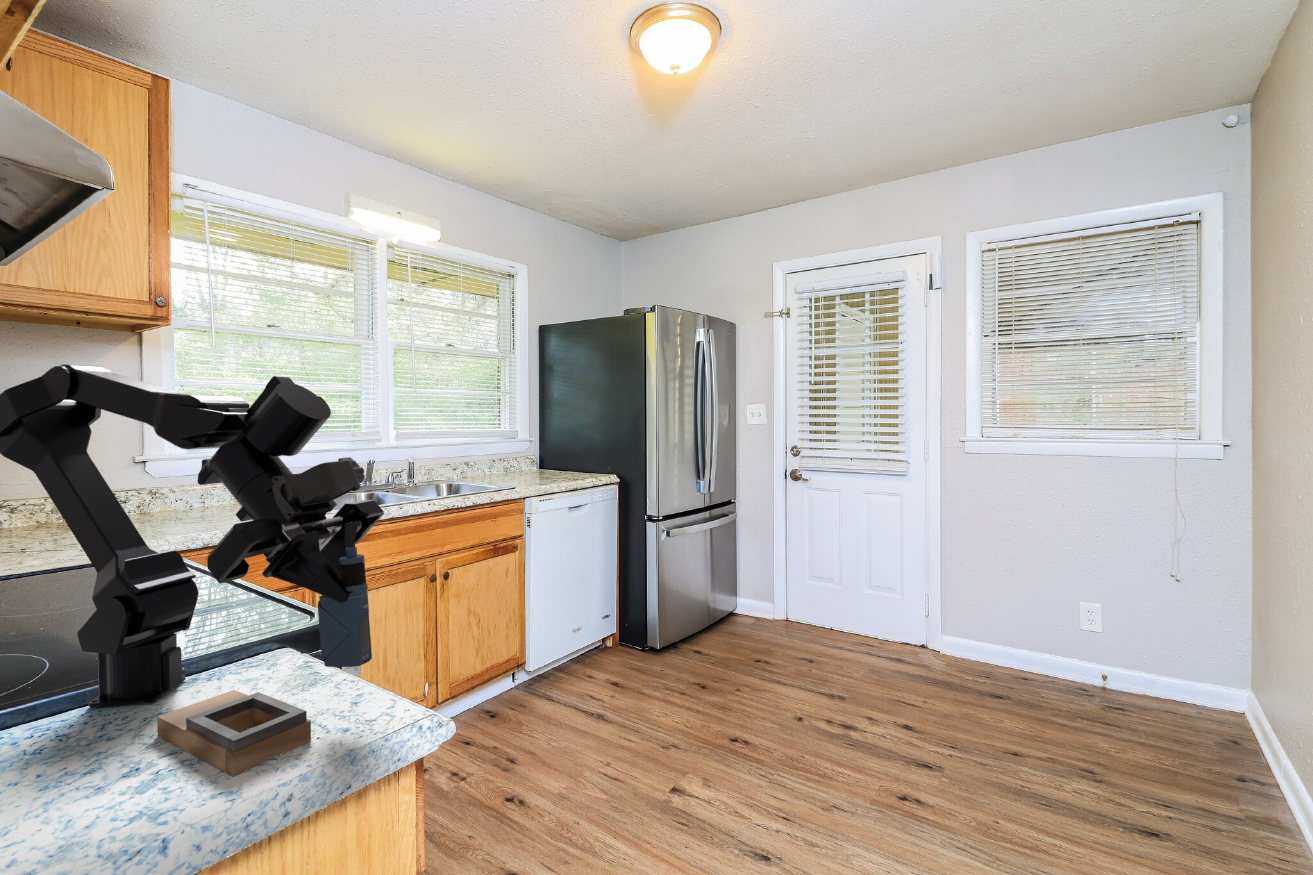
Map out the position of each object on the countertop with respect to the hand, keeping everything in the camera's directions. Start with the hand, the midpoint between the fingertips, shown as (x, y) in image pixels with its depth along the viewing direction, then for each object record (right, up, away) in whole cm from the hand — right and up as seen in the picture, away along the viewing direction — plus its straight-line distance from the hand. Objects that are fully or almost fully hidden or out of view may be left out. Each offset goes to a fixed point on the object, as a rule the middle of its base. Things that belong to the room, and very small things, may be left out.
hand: (355, 595), depth 65 cm
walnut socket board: (-10, -13, -4) cm, 17 cm away
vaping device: (-1, -7, 0) cm, 7 cm away
